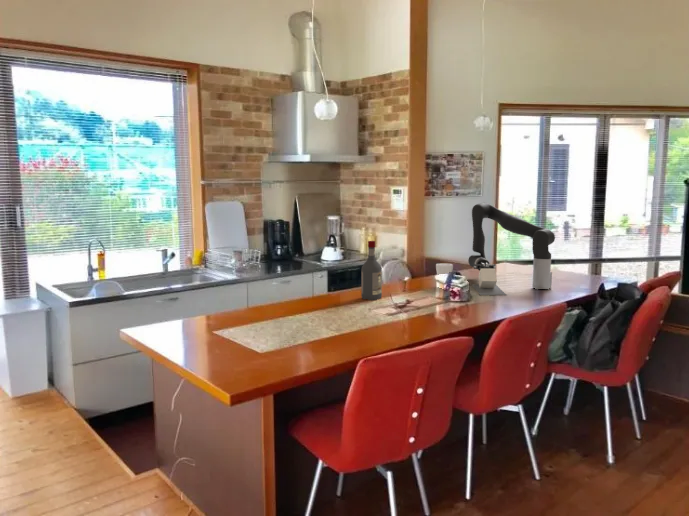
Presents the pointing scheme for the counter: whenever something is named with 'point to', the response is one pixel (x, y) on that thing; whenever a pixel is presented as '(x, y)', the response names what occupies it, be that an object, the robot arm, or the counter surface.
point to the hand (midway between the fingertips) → (487, 268)
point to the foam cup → (443, 268)
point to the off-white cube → (487, 278)
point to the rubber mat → (489, 290)
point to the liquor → (371, 276)
